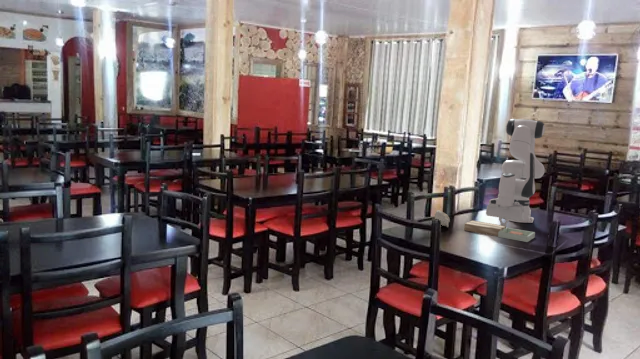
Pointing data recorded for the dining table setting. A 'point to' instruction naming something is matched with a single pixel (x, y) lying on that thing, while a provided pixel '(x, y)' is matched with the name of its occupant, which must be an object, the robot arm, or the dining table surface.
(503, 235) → the tray
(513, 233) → the tile
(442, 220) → the cheese
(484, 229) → the board
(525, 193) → the robot arm
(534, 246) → the dining table surface
